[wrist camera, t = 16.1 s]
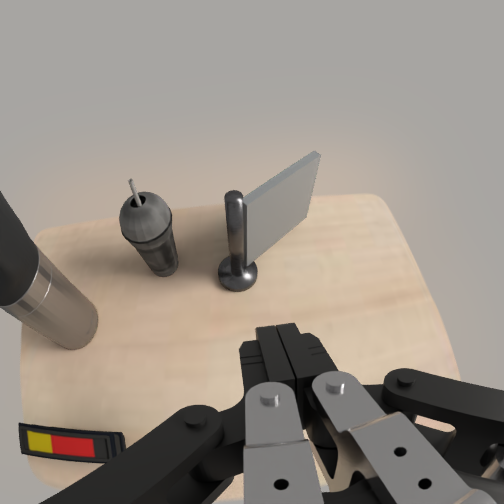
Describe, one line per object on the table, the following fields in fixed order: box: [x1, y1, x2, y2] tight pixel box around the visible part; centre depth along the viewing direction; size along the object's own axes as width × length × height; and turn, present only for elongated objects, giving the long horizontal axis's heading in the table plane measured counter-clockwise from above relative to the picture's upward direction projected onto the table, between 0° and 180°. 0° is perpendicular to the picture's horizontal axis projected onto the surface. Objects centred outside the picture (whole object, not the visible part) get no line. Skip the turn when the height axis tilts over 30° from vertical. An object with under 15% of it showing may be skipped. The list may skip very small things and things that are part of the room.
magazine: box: [19, 423, 126, 463], centre depth 27 cm, size 4×13×15 cm, turn 100°
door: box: [243, 151, 321, 266], centre depth 43 cm, size 14×2×14 cm, turn 134°
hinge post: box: [218, 190, 257, 292], centre depth 39 cm, size 6×6×18 cm
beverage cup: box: [119, 179, 178, 277], centre depth 39 cm, size 7×7×20 cm
